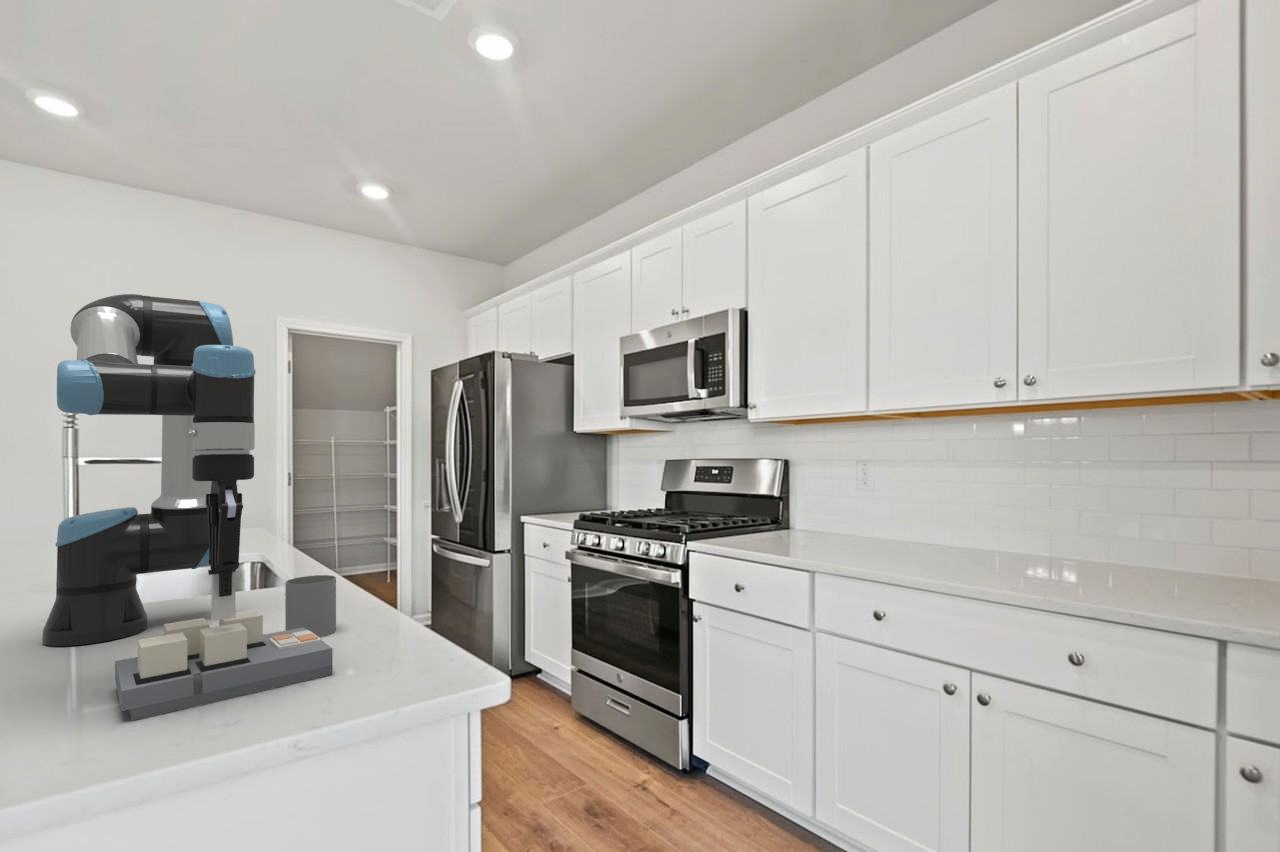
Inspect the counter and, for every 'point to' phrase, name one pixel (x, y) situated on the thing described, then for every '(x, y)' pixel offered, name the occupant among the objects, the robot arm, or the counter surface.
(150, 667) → the button
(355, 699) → the counter surface
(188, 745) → the counter surface
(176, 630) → the button
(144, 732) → the counter surface
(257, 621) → the button
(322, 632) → the cup
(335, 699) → the counter surface
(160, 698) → the board
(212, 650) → the button
